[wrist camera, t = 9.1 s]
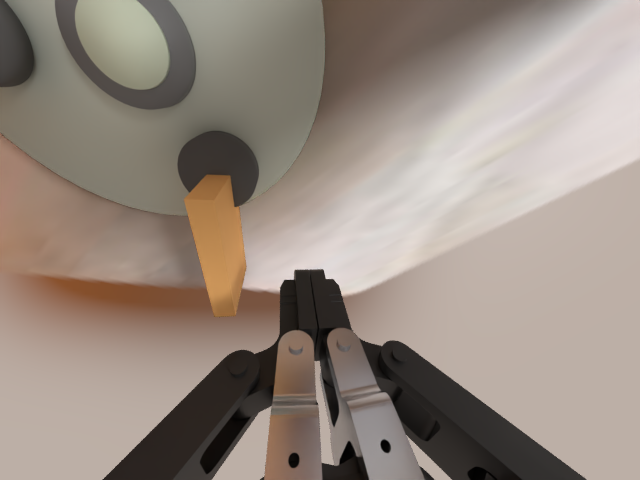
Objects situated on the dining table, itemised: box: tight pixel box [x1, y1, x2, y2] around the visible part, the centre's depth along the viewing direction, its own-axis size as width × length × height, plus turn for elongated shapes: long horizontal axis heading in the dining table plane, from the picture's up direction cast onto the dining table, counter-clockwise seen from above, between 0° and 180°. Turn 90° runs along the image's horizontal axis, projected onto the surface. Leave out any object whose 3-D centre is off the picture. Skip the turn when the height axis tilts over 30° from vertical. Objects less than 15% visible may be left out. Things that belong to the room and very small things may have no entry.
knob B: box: [177, 131, 259, 317], centre depth 13 cm, size 10×4×4 cm, turn 175°
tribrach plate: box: [0, 0, 325, 216], centre depth 11 cm, size 17×17×3 cm
